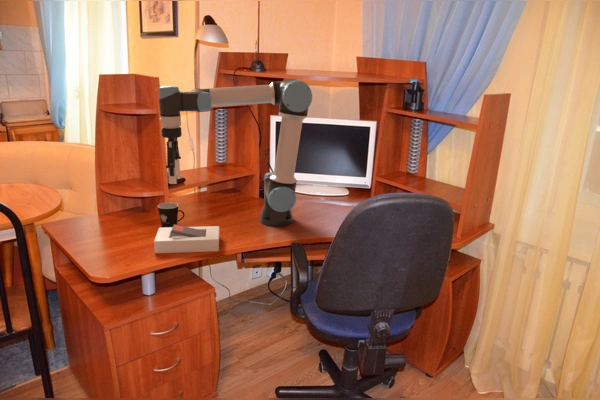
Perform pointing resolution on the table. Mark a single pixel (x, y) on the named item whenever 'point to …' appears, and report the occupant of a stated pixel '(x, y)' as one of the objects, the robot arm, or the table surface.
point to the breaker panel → (186, 241)
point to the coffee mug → (169, 214)
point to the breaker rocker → (187, 231)
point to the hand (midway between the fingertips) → (174, 179)
